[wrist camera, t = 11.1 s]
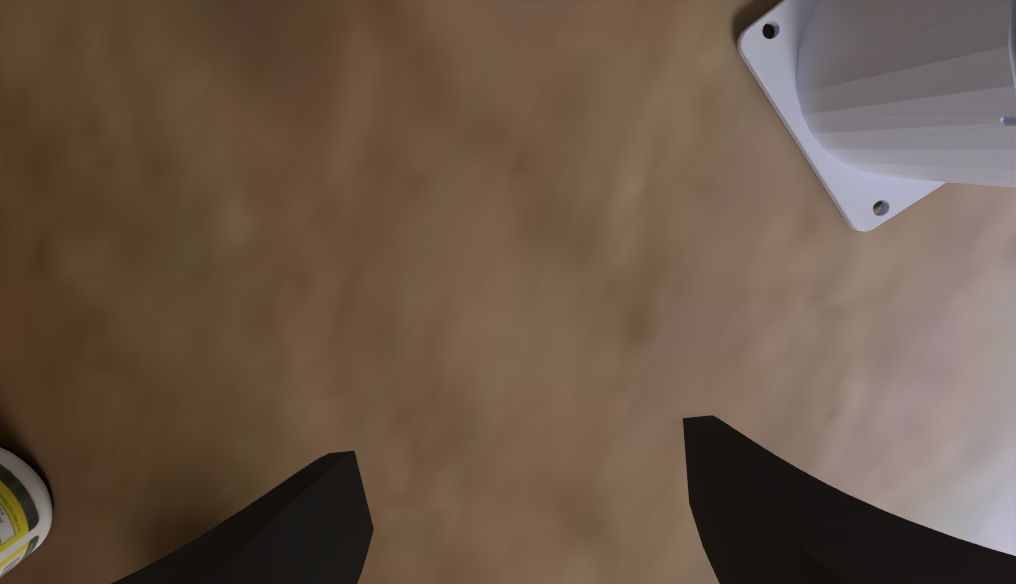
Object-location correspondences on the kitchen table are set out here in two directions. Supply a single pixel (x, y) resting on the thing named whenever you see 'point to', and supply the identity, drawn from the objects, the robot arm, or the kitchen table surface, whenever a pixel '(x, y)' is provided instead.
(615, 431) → the kitchen table surface
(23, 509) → the pill bottle
